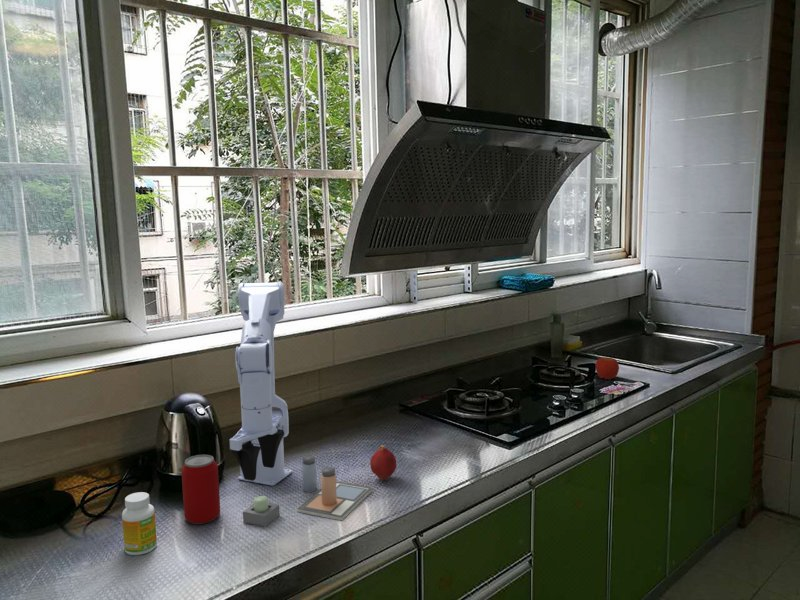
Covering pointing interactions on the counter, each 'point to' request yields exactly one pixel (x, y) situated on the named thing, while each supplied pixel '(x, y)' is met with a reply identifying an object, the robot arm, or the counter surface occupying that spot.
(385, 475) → the onion
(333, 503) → the terracotta marker
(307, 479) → the cylinder
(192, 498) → the beverage can
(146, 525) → the supplement bottle
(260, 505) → the button
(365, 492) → the picture card
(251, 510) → the button housing
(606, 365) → the apple
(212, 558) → the counter surface
